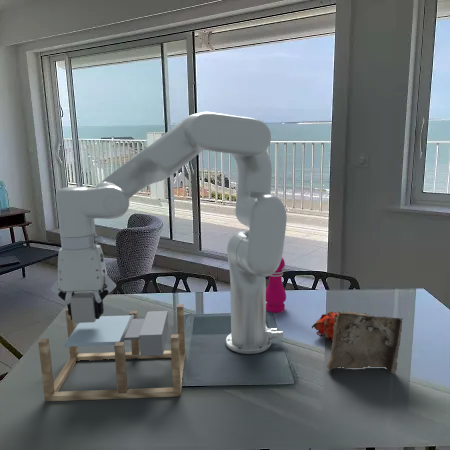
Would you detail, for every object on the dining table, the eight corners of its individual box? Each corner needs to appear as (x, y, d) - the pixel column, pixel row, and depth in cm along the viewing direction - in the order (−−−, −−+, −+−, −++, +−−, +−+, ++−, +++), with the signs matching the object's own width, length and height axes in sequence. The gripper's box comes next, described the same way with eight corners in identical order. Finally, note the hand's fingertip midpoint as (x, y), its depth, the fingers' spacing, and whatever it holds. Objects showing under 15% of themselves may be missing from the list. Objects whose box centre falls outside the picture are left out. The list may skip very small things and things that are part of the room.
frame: (185, 354, 110) (183, 304, 107) (180, 396, 92) (178, 337, 89) (72, 358, 109) (67, 307, 106) (45, 401, 91) (38, 342, 88)
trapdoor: (168, 327, 106) (167, 309, 105) (162, 357, 92) (161, 336, 91) (85, 330, 106) (83, 312, 105) (65, 360, 91) (63, 339, 90)
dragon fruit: (358, 346, 116) (314, 349, 118) (352, 319, 122) (311, 323, 124) (358, 331, 110) (312, 335, 112) (352, 303, 115) (309, 308, 118)
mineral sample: (328, 375, 99) (330, 315, 96) (325, 366, 103) (327, 309, 100) (400, 375, 98) (404, 315, 95) (394, 366, 102) (398, 308, 99)
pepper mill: (271, 303, 143) (271, 247, 139) (289, 308, 139) (290, 250, 135) (260, 310, 137) (260, 252, 133) (279, 315, 133) (280, 255, 129)
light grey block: (100, 313, 100) (98, 289, 99) (94, 322, 95) (92, 297, 94) (79, 314, 100) (76, 290, 99) (72, 323, 95) (69, 298, 94)
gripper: (120, 236, 98) (126, 309, 101) (47, 239, 97) (55, 312, 101) (113, 244, 90) (119, 322, 94) (33, 247, 90) (43, 325, 94)
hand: (86, 316), depth 97 cm, fingers closed on light grey block, 5 cm apart
